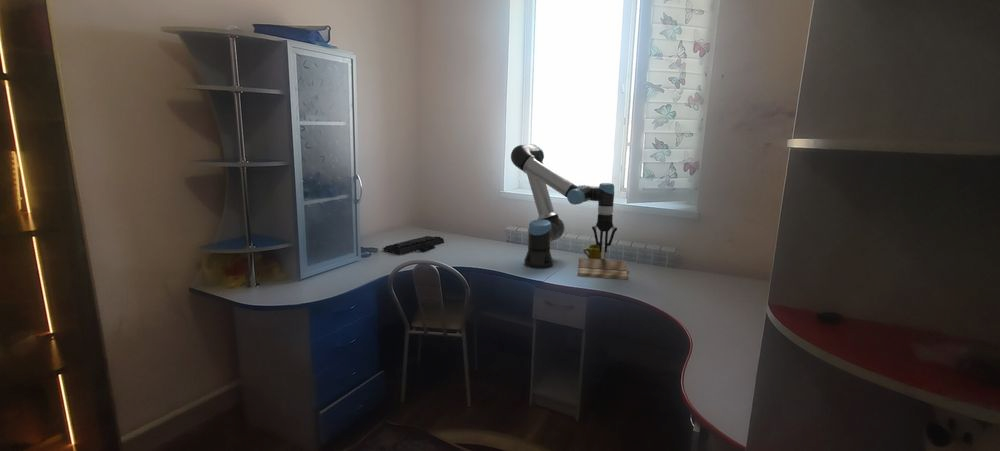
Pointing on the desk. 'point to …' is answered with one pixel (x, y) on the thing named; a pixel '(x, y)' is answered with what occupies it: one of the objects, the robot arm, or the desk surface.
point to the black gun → (415, 245)
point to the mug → (593, 252)
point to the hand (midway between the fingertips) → (602, 258)
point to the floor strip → (602, 273)
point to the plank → (602, 264)
